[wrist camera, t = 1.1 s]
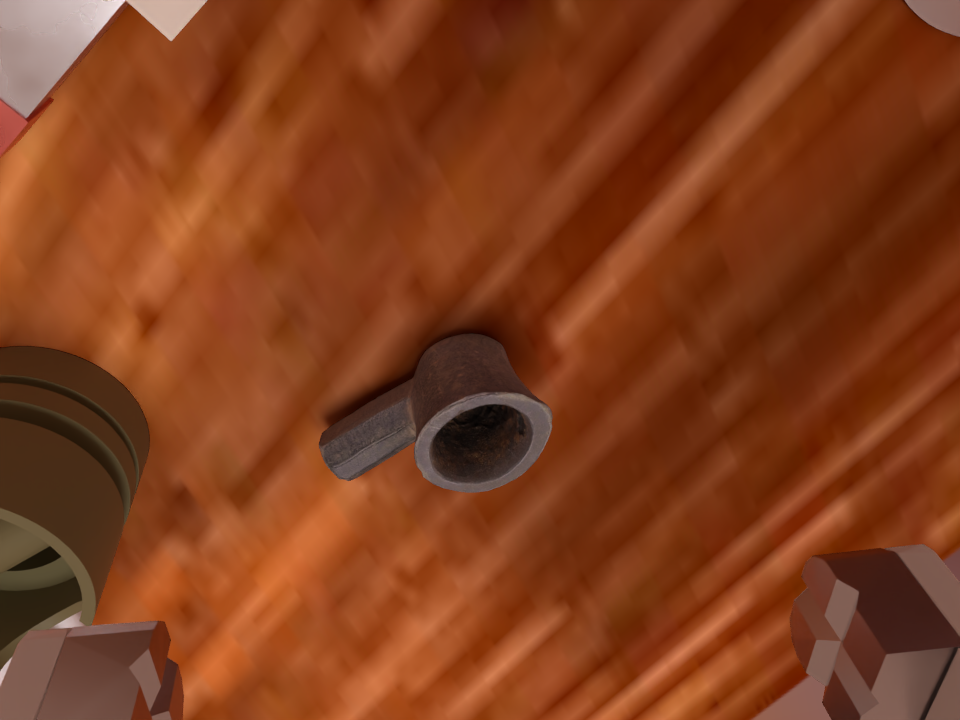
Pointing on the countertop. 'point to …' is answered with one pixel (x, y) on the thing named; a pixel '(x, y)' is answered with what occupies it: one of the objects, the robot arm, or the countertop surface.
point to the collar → (168, 13)
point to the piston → (61, 486)
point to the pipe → (448, 420)
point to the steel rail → (43, 54)
